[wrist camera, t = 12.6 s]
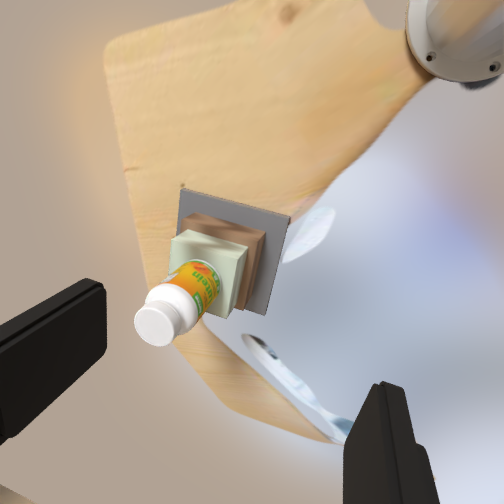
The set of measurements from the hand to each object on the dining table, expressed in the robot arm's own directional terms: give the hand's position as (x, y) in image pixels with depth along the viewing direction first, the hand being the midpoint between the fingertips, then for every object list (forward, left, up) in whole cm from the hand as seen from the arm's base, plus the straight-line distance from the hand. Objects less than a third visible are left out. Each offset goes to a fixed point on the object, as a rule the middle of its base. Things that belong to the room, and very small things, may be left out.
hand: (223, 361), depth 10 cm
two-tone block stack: (+10, +11, -30) cm, 34 cm away
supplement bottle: (+9, +11, -22) cm, 26 cm away
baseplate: (+10, +11, -30) cm, 34 cm away
